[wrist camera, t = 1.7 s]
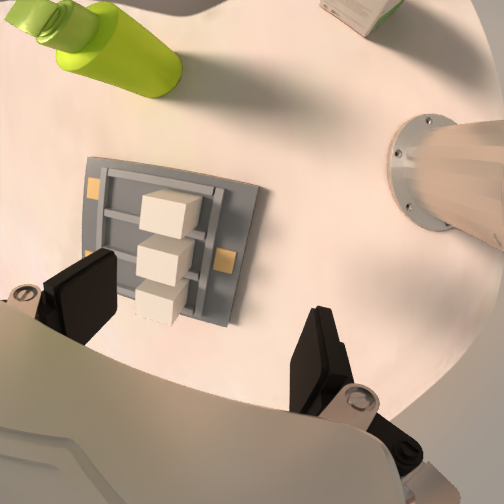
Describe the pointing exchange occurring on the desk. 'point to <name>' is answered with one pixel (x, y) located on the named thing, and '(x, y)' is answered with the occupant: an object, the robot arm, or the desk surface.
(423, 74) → the desk surface
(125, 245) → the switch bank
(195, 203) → the tab
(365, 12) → the skincare box
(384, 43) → the desk surface
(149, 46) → the soap dispenser
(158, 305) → the tab
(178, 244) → the tab
